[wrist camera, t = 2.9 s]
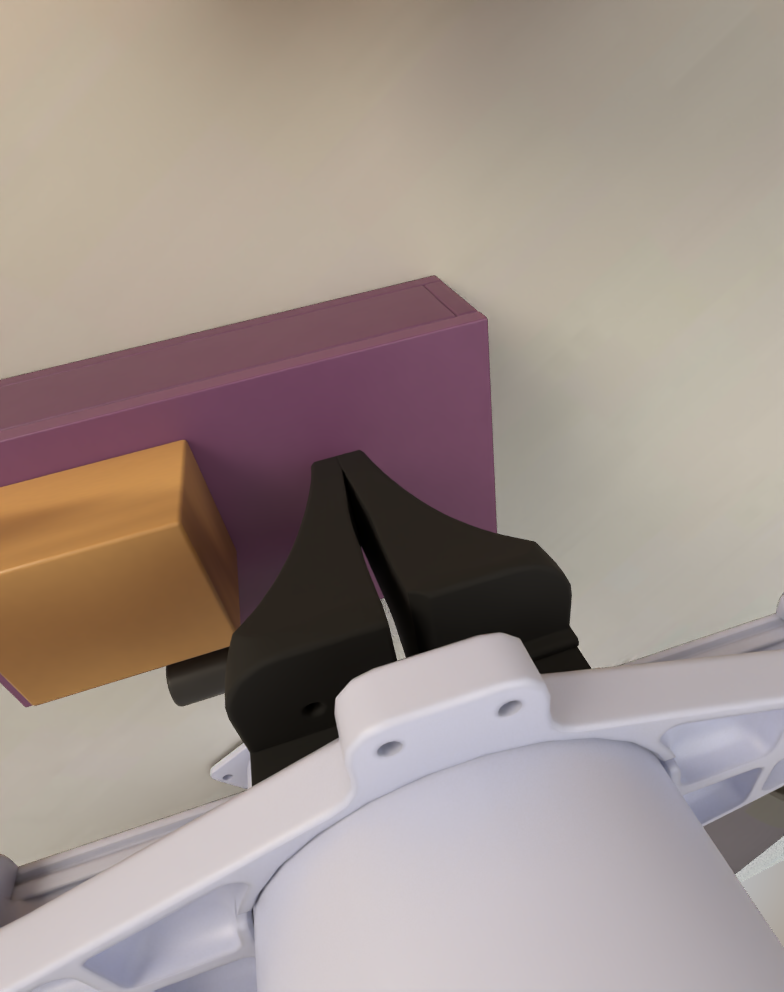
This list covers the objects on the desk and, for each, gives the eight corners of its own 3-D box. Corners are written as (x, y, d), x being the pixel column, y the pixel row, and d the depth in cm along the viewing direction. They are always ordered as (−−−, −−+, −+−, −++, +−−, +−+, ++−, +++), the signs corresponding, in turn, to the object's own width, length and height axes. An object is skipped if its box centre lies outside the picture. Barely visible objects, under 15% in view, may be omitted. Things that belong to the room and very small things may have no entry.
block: (237, 551, 16) (242, 644, 14) (63, 601, 16) (32, 708, 13) (186, 437, 14) (180, 522, 11) (-22, 491, 13) (-83, 595, 11)
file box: (456, 481, 22) (491, 537, 20) (44, 599, 21) (18, 679, 18) (435, 274, 17) (478, 309, 15) (-111, 406, 16) (-182, 475, 13)
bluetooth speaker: (540, 841, 48) (604, 988, 40) (452, 846, 43) (505, 1011, 36) (727, 668, 38) (860, 818, 30) (637, 653, 34) (765, 821, 26)
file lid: (492, 552, 20) (538, 627, 17) (30, 692, 18) (-4, 802, 15) (479, 310, 15) (543, 363, 12) (-184, 475, 13) (-296, 585, 10)
